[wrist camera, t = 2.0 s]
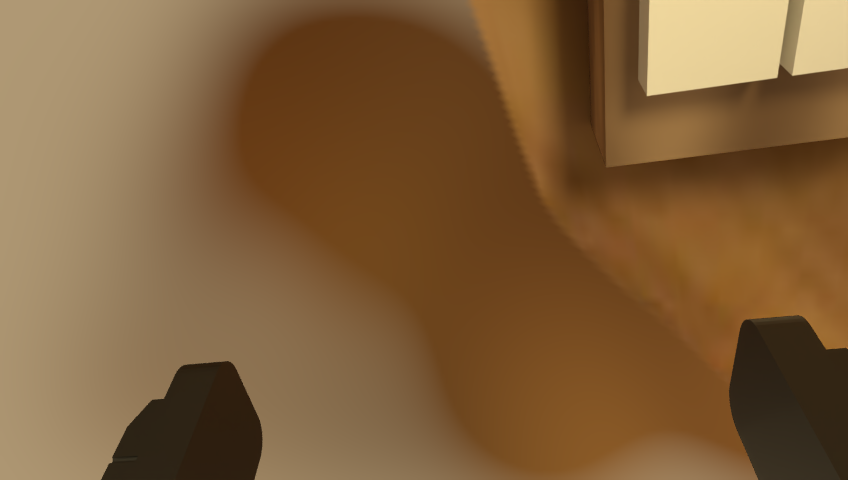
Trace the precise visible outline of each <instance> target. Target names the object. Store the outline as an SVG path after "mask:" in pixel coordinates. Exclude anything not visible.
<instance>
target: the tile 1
mask: <svg viewBox="0 0 848 480" xmlns="http://www.w3.org/2000/svg"><path fill="white" fill-rule="evenodd" d="M788 3H789V0H639V57H638V81H639V82H640V84H641V86H642V88H643V90H644V92H645V93H646V95H647V96H651V95H658V94H665V93H672V92H680V91H687V90H694V89H701V88H708V87H715V86H722V85H730V84H737V83H744V82H751V81H758V80H765V79H772V78H777V76H778V70H779V63H780V56H781V50H782V43H783V36H784V30H785V23H786V17H787V10H788Z"/></svg>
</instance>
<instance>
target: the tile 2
mask: <svg viewBox="0 0 848 480" xmlns="http://www.w3.org/2000/svg"><path fill="white" fill-rule="evenodd" d="M779 64H781V65H782V66H783V67H784V68H785V69H786V70H787V71H788V72H789V73H790V74H791V75H792V76H794V75H801V74H808V73H815V72H822V71H830V70H837V69H844V68H848V0H789V3H788V10H787V17H786V23H785V30H784V36H783V43H782V50H781V56H780V63H779Z"/></svg>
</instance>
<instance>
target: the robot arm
mask: <svg viewBox="0 0 848 480" xmlns="http://www.w3.org/2000/svg"><path fill="white" fill-rule="evenodd" d="M729 397H730V407H731V412H732V416H733V420H734V423H735V426H736V429H737V431H738V433H739V436H740V438H741V440H742V443H743V445H744V447H745V450H746V452H747V454H748V456H749V459H750V461H751V463H752V466H753V468H754V470H755V473H756V475H757V477H758V480H848V349H847V348H841V349H828V350H826V349H825V347H824V346H823V344H822V343H821V341H820V340H819V338H818V336H817V335H816V333H815V332H814V330H813V329H812V327H811V326H810V324H809V323H808V322H807V320H806V319H805V318H803V317H802V316H799V315H797V316H785V317H773V318H761V319H749V320H745V321H744V322H743V323H742V325H741V328H740V333H739V338H738V344H737V349H736V354H735V360H734V365H733V371H732V376H731V382H730V388H729ZM261 451H262V429H261V424H260V420H259V418H258V415H257V413H256V411H255V409H254V407H253V405H252V402H251V400H250V398H249V396H248V394H247V392H246V390H245V387H244V386H243V383H242V381H241V379H240V377H239V374H238V372H237V370H236V368H235V366H234V365H233V364H232V363H231V362H229V361H225V362H213V363H203V364H202V363H201V364H189V365H183V366H182V367H180V368H179V369H178V371H177V373H176V374H175V376H174V379H173V381H172V383H171V385H170V387H169V389H168V392H167V394H166V396H165V398H164V399H158V400H152V401H151V402H150V403H149V404H148V405H147V406H146V407H145V408H144V409H143V411H141V413H140V414H139V415H138V416H137V417H136V418H135V419H134V420H133V421H132V422H131V423H130V425H129V426H128V427H127V428H126V431H125V433H124V435H123V437H122V439H121V441H120V443H119V445H118V447H117V449H116V451H115V453H114V455H113V457H112V458H113V462H112V463H110V464H109V465H108V467H107V469H106V471H105V473H104V475H103V477H102V479H101V480H254V479H255V475H256V471H257V468H258V464H259V461H260V457H261Z"/></svg>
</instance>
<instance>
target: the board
mask: <svg viewBox="0 0 848 480" xmlns="http://www.w3.org/2000/svg"><path fill="white" fill-rule="evenodd" d="M588 33H589V68H590V103H591V126H592V129H593V132H594V134H595V137H596V140H597V143H598V146H599V149H600V152H601V155H602V157H603V160H604V163H605V166H606V168H607V167H615V166H623V165H631V164H639V163H647V162H655V161H663V160H671V159H679V158H687V157H695V156H703V155H711V154H719V153H727V152H735V151H742V150H750V149H758V148H766V147H774V146H782V145H790V144H798V143H806V142H814V141H822V140H830V139H838V138H846V137H848V68H844V69H837V70H830V71H822V72H815V73H808V74H801V75H794V76H792V75H791V74H790V73H789V72H788V71H787V70H786V69H785V68H784V67H783V66H782V65H781V64H779V70H778V76H777V78H772V79H765V80H758V81H751V82H744V83H737V84H730V85H722V86H715V87H708V88H701V89H694V90H687V91H680V92H672V93H665V94H658V95H651V96H647V95H646V93H645V92H644V90H643V88H642V86H641V84H640V82H639V81H638V57H639V0H588Z"/></svg>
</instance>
